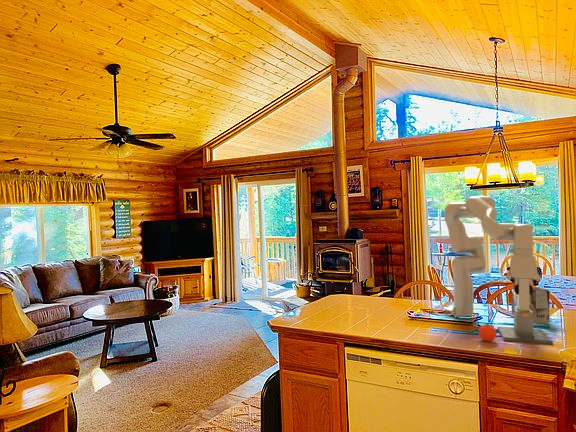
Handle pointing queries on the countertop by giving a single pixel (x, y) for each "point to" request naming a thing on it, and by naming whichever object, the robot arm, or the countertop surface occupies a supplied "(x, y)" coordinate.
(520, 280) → the column
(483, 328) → the clementine
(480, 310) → the countertop surface
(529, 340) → the stand
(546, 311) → the coffee box
